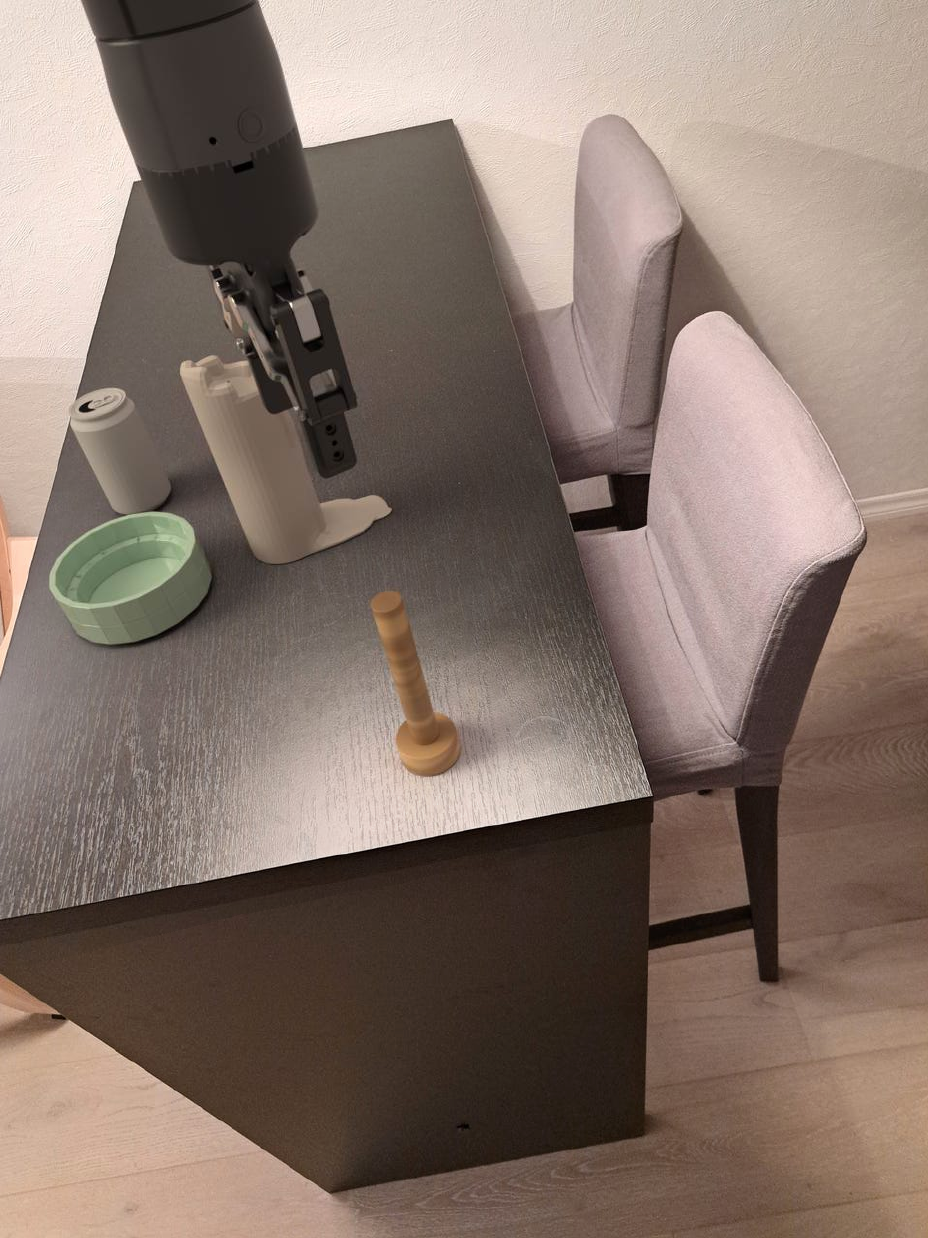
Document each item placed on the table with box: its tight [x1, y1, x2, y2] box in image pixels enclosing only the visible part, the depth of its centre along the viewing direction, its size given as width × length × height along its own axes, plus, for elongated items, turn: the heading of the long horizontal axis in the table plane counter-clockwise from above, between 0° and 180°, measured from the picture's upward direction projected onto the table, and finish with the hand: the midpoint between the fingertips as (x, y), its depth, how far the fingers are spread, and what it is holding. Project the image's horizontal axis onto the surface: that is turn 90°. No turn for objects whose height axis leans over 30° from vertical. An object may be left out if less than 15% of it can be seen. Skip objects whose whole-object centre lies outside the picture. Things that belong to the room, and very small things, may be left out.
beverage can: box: [68, 387, 172, 516], centre depth 96 cm, size 6×6×12 cm
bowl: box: [48, 511, 213, 646], centre depth 86 cm, size 13×13×5 cm
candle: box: [179, 354, 392, 565], centre depth 84 cm, size 7×14×20 cm, turn 113°
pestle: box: [370, 590, 461, 777], centre depth 64 cm, size 4×4×15 cm
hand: (310, 437), depth 54 cm, fingers open, 8 cm apart
